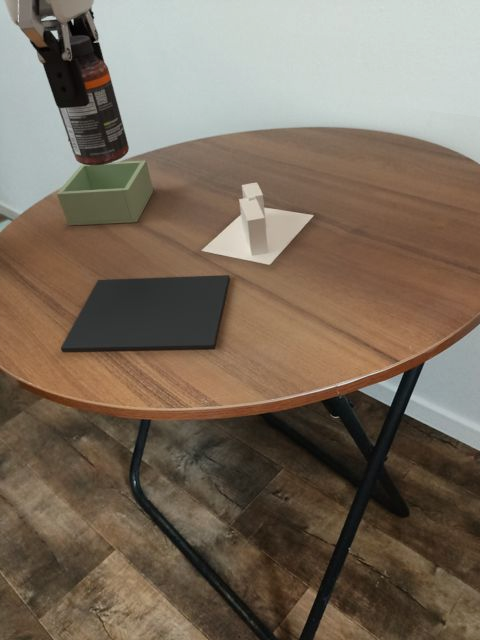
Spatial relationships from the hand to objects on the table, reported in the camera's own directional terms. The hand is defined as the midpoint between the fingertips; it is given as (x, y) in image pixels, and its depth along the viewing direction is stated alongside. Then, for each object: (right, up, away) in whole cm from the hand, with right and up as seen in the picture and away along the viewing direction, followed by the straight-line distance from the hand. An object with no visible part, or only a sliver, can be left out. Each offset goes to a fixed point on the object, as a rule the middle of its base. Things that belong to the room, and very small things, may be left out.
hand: (84, 94), depth 53 cm
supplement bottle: (+1, -5, +4) cm, 7 cm away
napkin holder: (+18, -9, +24) cm, 31 cm away
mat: (+4, -21, +11) cm, 25 cm away
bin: (-7, -2, +35) cm, 36 cm away
